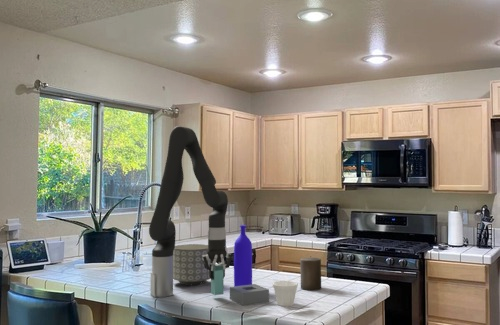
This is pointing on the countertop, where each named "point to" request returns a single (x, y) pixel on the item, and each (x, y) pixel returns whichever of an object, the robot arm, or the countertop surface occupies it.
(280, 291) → the cup
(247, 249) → the bottle
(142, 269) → the countertop surface
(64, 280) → the countertop surface
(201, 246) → the planter
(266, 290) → the grey socket block
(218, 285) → the plug
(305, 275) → the pillar candle
